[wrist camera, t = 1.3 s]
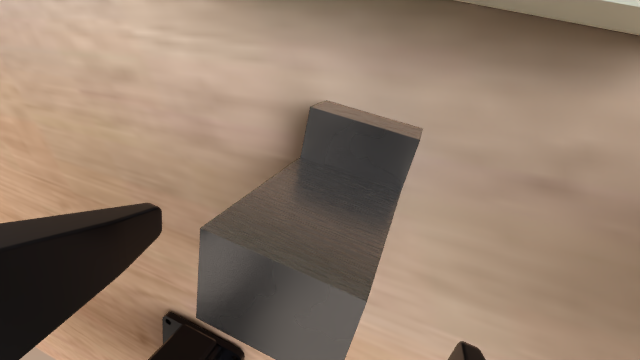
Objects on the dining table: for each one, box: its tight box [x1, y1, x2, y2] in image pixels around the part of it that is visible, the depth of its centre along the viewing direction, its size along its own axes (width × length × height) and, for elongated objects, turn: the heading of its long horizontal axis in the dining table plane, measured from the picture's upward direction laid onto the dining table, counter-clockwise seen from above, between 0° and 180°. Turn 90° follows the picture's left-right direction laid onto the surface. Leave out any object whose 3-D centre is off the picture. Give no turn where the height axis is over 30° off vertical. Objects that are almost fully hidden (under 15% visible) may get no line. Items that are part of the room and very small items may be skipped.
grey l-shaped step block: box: [196, 101, 423, 360], centre depth 10 cm, size 5×4×8 cm
